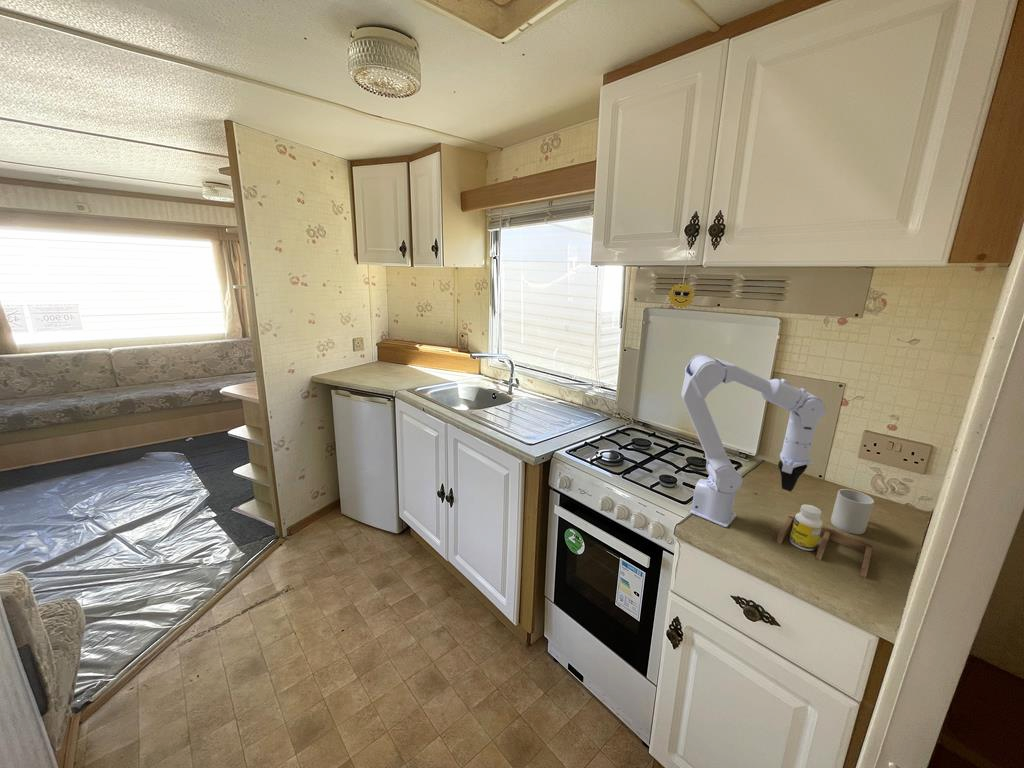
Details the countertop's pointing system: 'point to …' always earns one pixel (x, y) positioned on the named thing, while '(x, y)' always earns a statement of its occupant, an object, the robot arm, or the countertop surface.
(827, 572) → the countertop surface
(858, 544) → the rack
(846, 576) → the countertop surface
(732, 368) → the robot arm
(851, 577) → the countertop surface
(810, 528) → the supplement bottle
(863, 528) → the cup
